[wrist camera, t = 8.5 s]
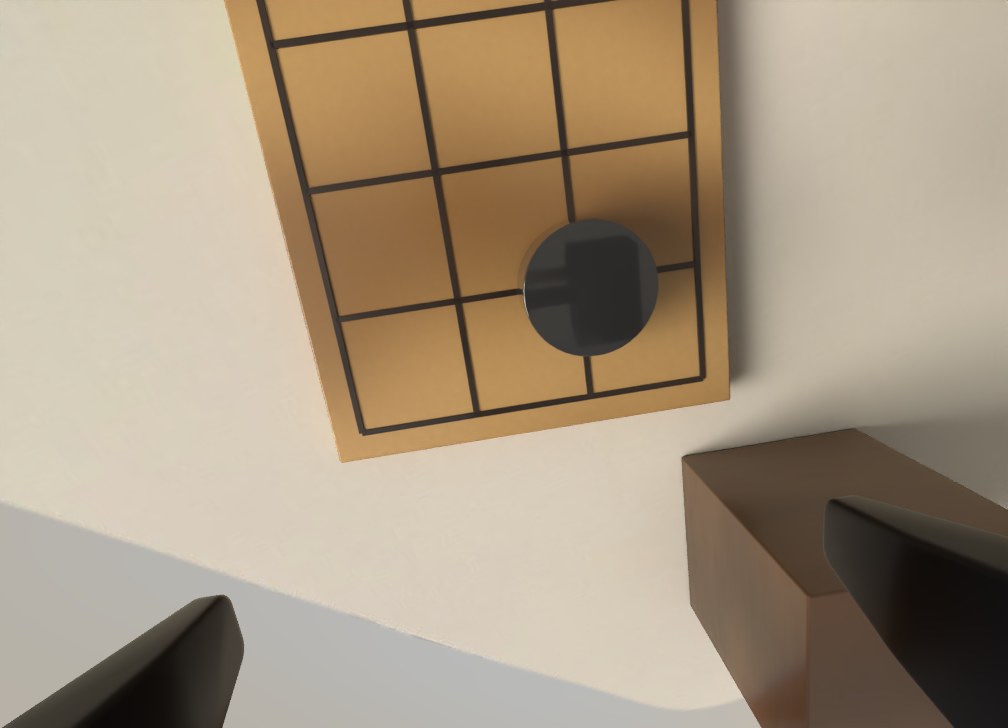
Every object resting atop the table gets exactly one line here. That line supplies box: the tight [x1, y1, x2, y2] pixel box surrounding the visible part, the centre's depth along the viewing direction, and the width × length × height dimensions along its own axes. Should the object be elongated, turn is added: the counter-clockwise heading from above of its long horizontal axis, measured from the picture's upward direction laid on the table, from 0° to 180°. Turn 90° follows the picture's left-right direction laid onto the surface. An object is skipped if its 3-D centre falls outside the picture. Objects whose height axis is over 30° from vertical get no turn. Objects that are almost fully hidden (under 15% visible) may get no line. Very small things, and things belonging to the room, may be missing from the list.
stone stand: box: [682, 429, 1008, 728], centre depth 18 cm, size 7×7×8 cm
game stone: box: [517, 219, 658, 357], centre depth 16 cm, size 4×4×2 cm
